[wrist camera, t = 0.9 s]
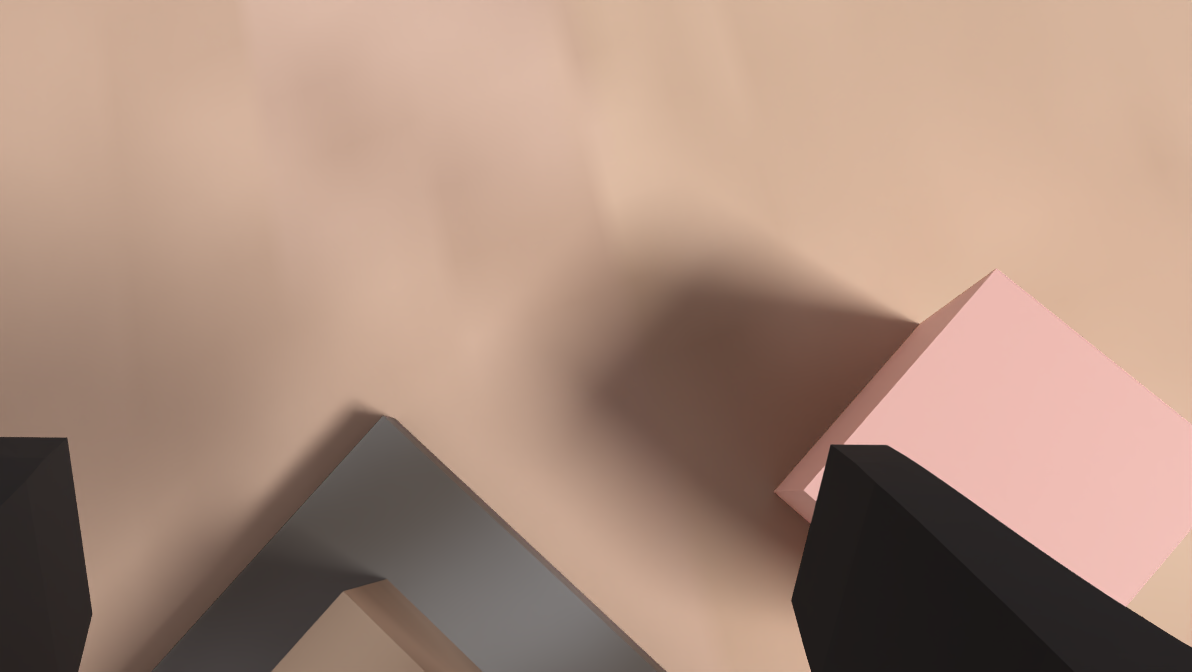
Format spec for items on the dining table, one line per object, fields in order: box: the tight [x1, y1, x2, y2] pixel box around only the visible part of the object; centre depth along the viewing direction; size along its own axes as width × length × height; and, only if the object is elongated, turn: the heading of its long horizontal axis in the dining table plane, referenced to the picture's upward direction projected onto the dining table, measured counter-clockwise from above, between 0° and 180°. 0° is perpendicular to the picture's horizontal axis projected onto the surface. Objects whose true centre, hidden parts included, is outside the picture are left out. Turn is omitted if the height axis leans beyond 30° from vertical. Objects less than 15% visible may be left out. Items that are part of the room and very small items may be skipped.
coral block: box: [774, 268, 1192, 607], centre depth 20 cm, size 5×5×6 cm
